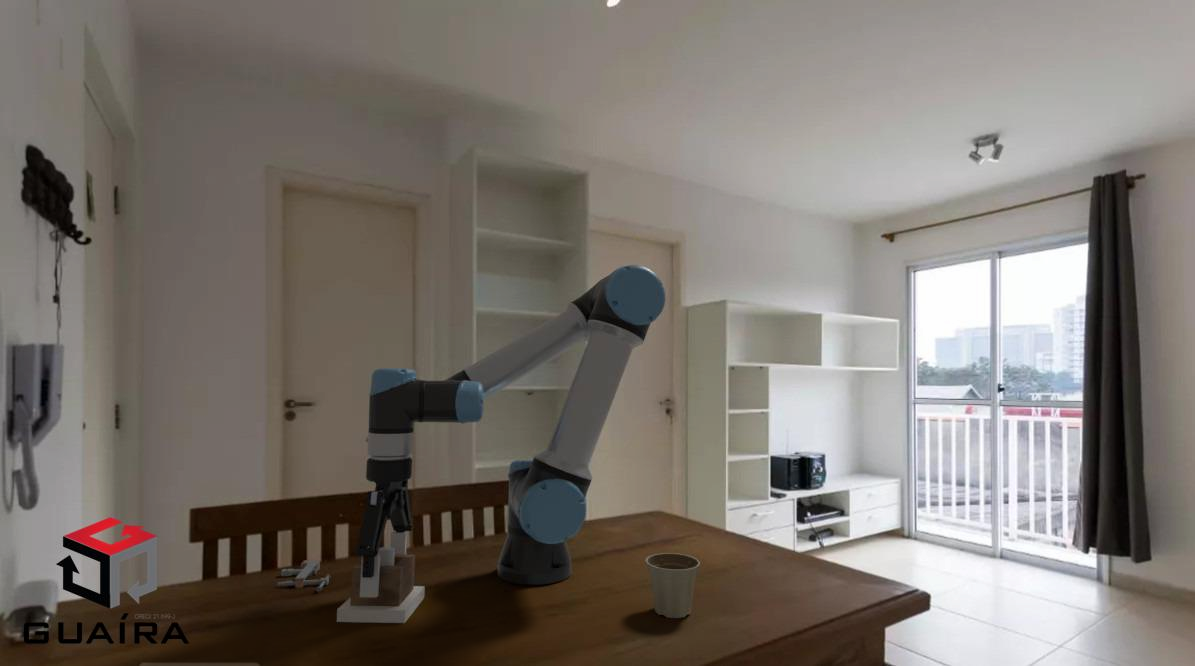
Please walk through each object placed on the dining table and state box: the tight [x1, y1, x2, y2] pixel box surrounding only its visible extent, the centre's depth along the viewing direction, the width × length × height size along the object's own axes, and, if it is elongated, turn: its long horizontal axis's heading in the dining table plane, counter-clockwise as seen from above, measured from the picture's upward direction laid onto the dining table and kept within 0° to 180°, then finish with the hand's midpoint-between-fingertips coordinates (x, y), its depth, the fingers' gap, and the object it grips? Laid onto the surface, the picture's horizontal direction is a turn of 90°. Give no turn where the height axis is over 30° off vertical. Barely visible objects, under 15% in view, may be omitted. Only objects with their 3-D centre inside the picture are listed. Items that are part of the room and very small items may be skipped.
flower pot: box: [645, 552, 701, 619], centre depth 102 cm, size 9×9×9 cm
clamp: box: [277, 559, 331, 592], centre depth 113 cm, size 15×2×10 cm
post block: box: [336, 546, 426, 624], centre depth 100 cm, size 11×11×10 cm
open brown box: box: [350, 553, 416, 606], centre depth 100 cm, size 8×8×6 cm
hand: (384, 582), depth 100 cm, fingers open, 13 cm apart
